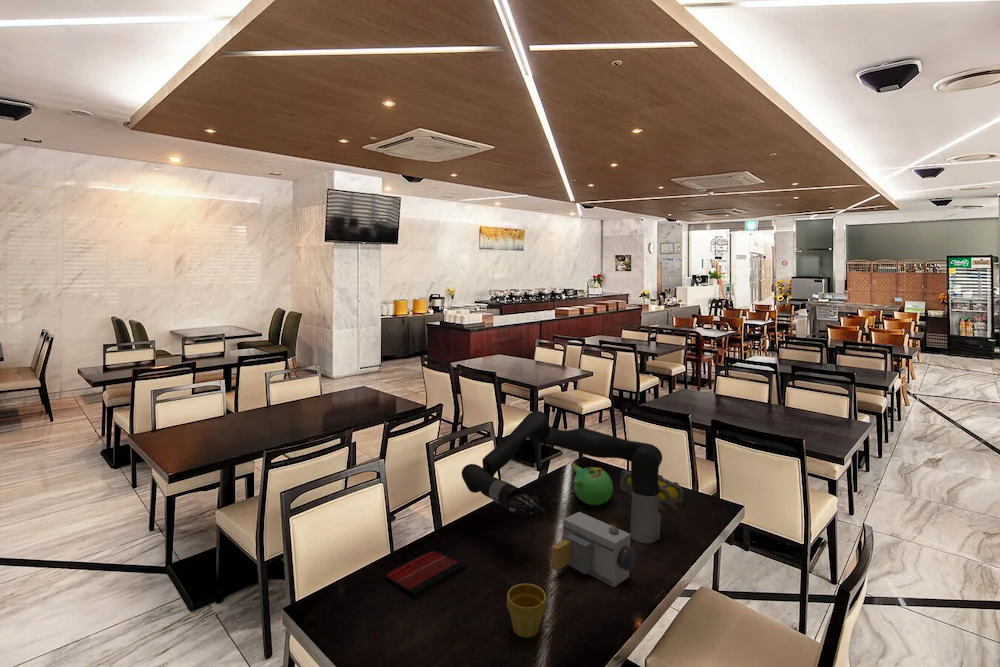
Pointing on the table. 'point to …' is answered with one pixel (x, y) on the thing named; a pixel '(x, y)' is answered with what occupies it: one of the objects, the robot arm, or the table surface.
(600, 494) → the toy bird
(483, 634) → the table surface
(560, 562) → the door
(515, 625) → the plant pot
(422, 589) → the binder
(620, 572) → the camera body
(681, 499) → the cage light
